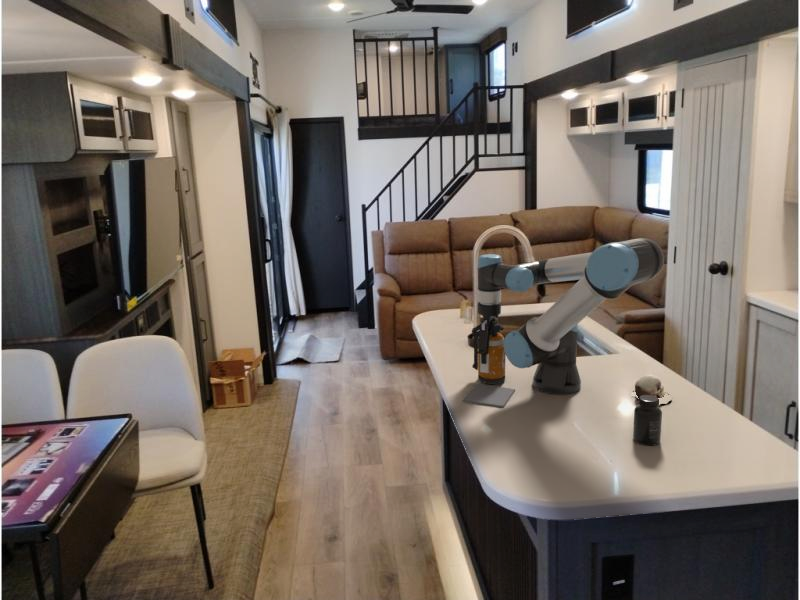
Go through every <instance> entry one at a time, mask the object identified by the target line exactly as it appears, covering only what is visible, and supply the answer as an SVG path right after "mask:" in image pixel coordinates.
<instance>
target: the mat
mask: <svg viewBox="0 0 800 600" xmlns="http://www.w3.org/2000/svg"><path fill="white" fill-rule="evenodd" d="M515 392H516V388H509V387H500V386H493V385H488V384H480V383H479V384H478V383H476V384H474V385H473V386H472V388H471V389H470V390H469V392H468V393H467V394H466V395H465V396H464V397H463V399H462V402H463V403H470V404H475V405H476V404H477V405H483V406H489V407H496V408H505V406H506V405H507V404H508V402H509V401H510V399H511V397H512V396H513V395H514V393H515Z"/></svg>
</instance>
